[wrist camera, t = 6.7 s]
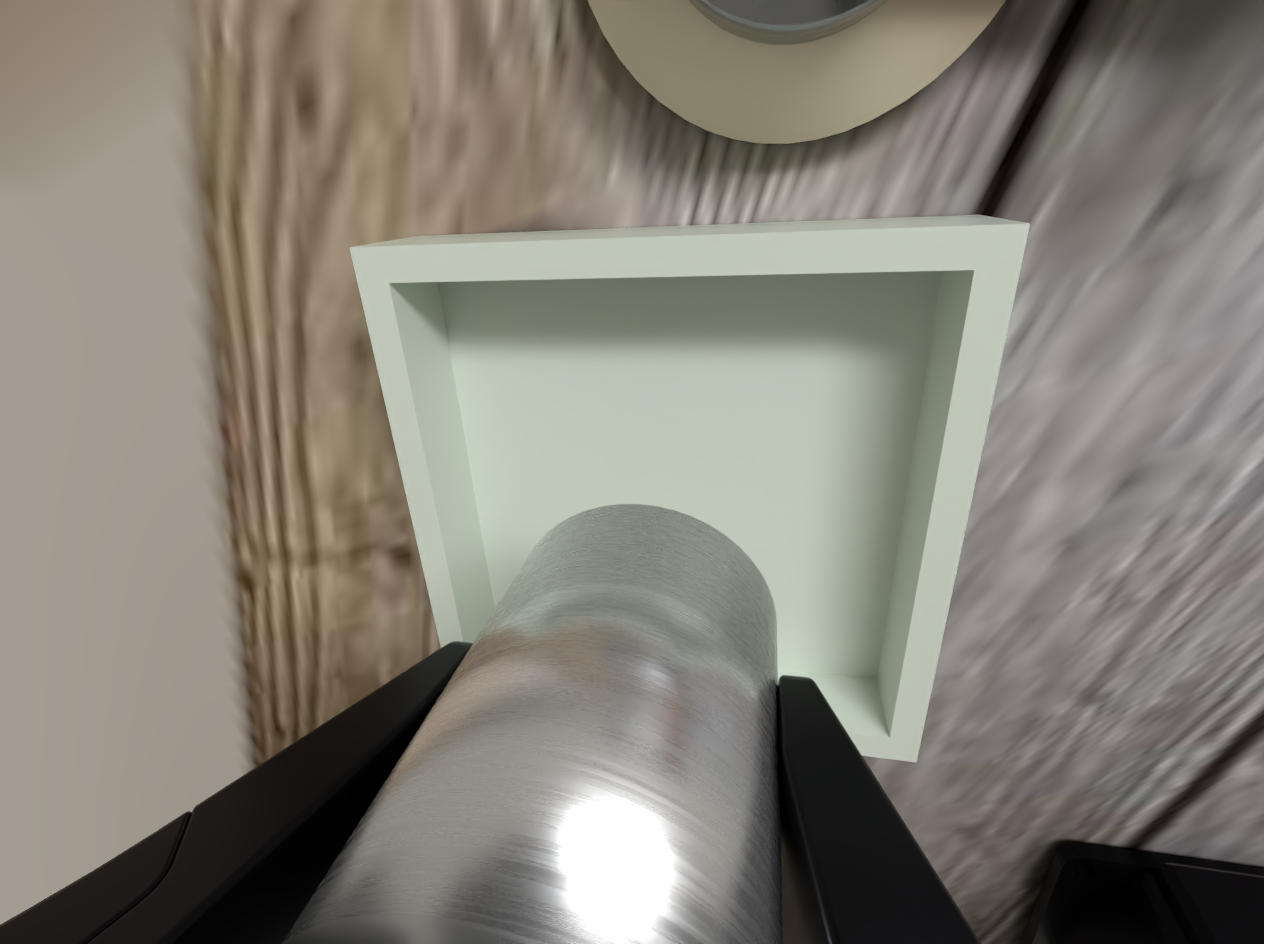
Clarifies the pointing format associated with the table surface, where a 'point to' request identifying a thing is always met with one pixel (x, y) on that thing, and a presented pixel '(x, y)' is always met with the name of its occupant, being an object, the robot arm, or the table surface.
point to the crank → (785, 18)
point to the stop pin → (587, 760)
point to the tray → (710, 416)
